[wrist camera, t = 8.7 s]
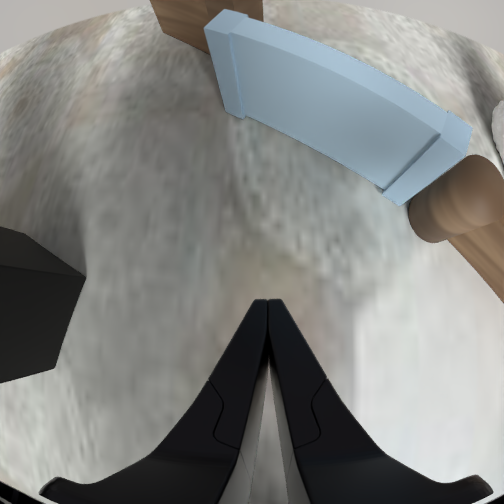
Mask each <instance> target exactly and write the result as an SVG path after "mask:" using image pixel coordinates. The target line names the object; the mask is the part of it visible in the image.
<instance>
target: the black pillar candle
mask: <svg viewBox="0 0 504 504" xmlns="http://www.w3.org/2000/svg"><path fill="white" fill-rule="evenodd" d="M85 280H86V277H85V276H84V275H82V274H81V273H79V272H78V271H76V270H75V269H73V268H72V267H70V266H69V265H68V264H66V263H65V262H63V261H62V260H60V259H59V258H57V257H56V256H55V255H53V254H52V253H50V252H49V251H48V250H46V249H45V248H43V247H42V246H41V245H39V244H38V243H37V242H35V241H34V240H33V239H31V238H30V237H29V236H27V235H26V234H24V233H21V232H17V231H14V230H10V229H7V228H4V227H0V383H4V382H8V381H11V380H15V379H19V378H23V377H26V376H30V375H33V374H37V373H41V372H44V371H48V370H51V369H54V368H55V366H56V363H57V359H58V356H59V353H60V349H61V346H62V343H63V340H64V337H65V334H66V331H67V328H68V325H69V322H70V319H71V317H72V314H73V311H74V308H75V306H76V303H77V300H78V298H79V295H80V292H81V290H82V287H83V285H84V282H85Z"/></svg>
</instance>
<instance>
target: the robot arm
mask: <svg viewBox="0 0 504 504" xmlns="http://www.w3.org/2000/svg"><path fill="white" fill-rule="evenodd" d="M268 367H270V375H271V382H272V389H273V396H274V403H275V410H276V417H277V424H278V431H279V437H280V444H281V451H282V458H283V465H284V472H285V479H286V486H287V493H288V500H289V504H472V503H475V502H477V501H479V500H481V499H483V498H485V497H487V496H489V495H491V494H493V490H492V488H491V487H490V485H489V484H488V483H487V482H485V481H484V480H483V479H482V478H481V477H479V476H478V475H472V476H469V477H466V478H463V479H461V480H458V481H455V482H452V483H440V482H436V481H434V480H431V479H429V478H427V477H425V476H424V475H422V474H420V473H418V472H416V471H415V470H413V469H411V468H409V467H407V466H406V465H404V464H402V463H400V462H399V461H397V460H395V459H394V458H392V457H390V456H389V455H387V454H386V453H385V452H384V451H382V450H381V449H380V448H379V447H378V446H377V444H376V443H375V442H374V441H373V440H372V438H371V437H370V436H369V435H368V434H367V432H366V431H365V430H364V429H363V427H362V426H361V425H360V424H359V422H358V421H357V420H356V419H355V417H354V416H353V415H352V414H351V412H350V411H349V410H348V408H347V407H346V406H345V404H344V403H343V402H342V400H341V399H340V397H339V395H338V394H337V392H336V391H335V389H334V387H333V386H332V384H331V382H330V381H329V379H328V378H327V376H326V374H325V372H324V371H323V369H322V367H321V366H320V364H319V362H318V360H317V359H316V357H315V355H314V354H313V352H312V350H311V348H310V347H309V345H308V343H307V342H306V340H305V338H304V337H303V335H302V333H301V331H300V330H299V328H298V326H297V325H296V323H295V321H294V319H293V318H292V316H291V314H290V313H289V311H288V309H287V308H286V306H285V304H284V302H283V301H282V300H281V299H269V300H267V299H255V300H254V301H253V303H252V304H251V306H250V308H249V310H248V311H247V313H246V315H245V317H244V318H243V320H242V322H241V324H240V325H239V327H238V329H237V331H236V332H235V334H234V336H233V337H232V339H231V341H230V343H229V344H228V346H227V348H226V349H225V351H224V353H223V355H222V356H221V358H220V360H219V361H218V363H217V365H216V366H215V368H214V370H213V372H212V373H211V375H210V377H209V378H208V380H209V381H206V383H205V385H204V386H203V388H202V390H201V391H200V393H199V394H198V396H197V398H196V399H195V401H194V402H193V404H192V405H191V406H190V407H189V409H188V410H187V411H186V413H185V414H184V415H183V417H182V418H181V419H180V420H179V421H178V423H177V424H176V425H175V426H174V428H173V429H172V430H171V431H170V432H169V434H168V435H167V436H166V437H165V438H164V440H163V441H162V442H161V443H160V444H159V445H158V447H157V448H156V449H155V450H154V451H152V452H151V453H150V454H149V455H147V456H146V457H145V458H143V459H141V460H139V461H138V462H136V463H134V464H132V465H130V466H128V467H126V468H125V469H123V470H121V471H119V472H117V473H115V474H113V475H111V476H109V477H107V478H105V479H103V480H101V481H98V482H96V483H92V484H79V483H76V482H73V481H70V480H67V479H65V478H61V477H55V478H53V479H52V480H50V481H49V482H48V483H46V484H45V485H44V486H43V487H42V488H41V490H40V491H39V495H41V496H43V497H45V498H47V499H49V500H51V501H53V502H56V503H58V504H249V498H250V492H251V485H252V484H251V483H252V479H253V473H254V466H255V460H256V453H257V447H258V440H259V433H260V427H261V420H262V413H263V405H264V398H265V391H266V383H267V376H268ZM0 504H46V503H43V502H41V501H39V500H37V499H35V498H33V497H31V496H29V495H27V494H25V493H23V492H21V491H19V490H17V489H15V488H14V487H12V486H10V485H8V484H6V483H4V482H2V481H0ZM485 504H504V494H503V495H501V496H499V497H497V498H495V499H493V500H491V501H489V502H487V503H485Z"/></svg>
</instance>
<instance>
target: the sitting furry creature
mask: <svg viewBox="0 0 504 504" xmlns="http://www.w3.org/2000/svg"><path fill="white" fill-rule="evenodd" d="M492 114H493V116H492V121H493V122H492V132H493V140H494V142H495V143H496V149H497V150H498V152H500V156H501V159H502V161H503V165H504V101H502V100H500V102H499V104H498V106H496V107H495V108H494V110H493V112H492Z"/></svg>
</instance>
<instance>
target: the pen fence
mask: <svg viewBox="0 0 504 504" xmlns="http://www.w3.org/2000/svg"><path fill="white" fill-rule="evenodd" d="M150 2H151V4H152V7H153V9H154V12H155V14H156V16H157V19H158V21H159V24H160V26H161V28H162V31H163V33H166V34H168V35H170V36H172V37H174V38H177V39H179V40H181V41H183V42H185V43H187V44H189V45H191V46H194V47H196V48H198V49H200V50H202V51H204V52H206V53H208V54H210V50H209V47H208V43H207V39H206V35H205V32H204V27H205V26H206V25H207V24H208V23H209V22H210V21H211V20H213V19H214V18H215V17H216V16H217V15H218V14H219V13H220V12H221V11H223V10H224V9H227V10H231V11H235V12H239V13H243V14H247V15H248V18H251V19H255V20H258V21H261V22H264V21H263V3H262V0H150ZM210 55H211V54H210ZM409 220H410V224H411V226H412V228H413V230H414V232H415V233H416V234H417V235H418V236H419V237H420V238H421V239H423V240H424V241H426V242H429V243H438V242H441V241H443V240H446V239H447V240H448V241H449V242H450V243H451V244H452V245H453V246H454V247H455V248H456V249H457V250H458V251H459V252H460V253H461V255H462V256H463V257H464V258H465V259H466V260H467V261H468V262H469V263H470V264H471V265H472V267H473V268H474V269H475V270H476V271H477V272H478V273H479V274H480V276H481V277H482V278H483V279H484V280H485V281H486V283H487V284H488V285H489V286H490V287H491V288H492V290H493V291H494V292H495V293H496V294H497V296H498V297H499V298H500V299H501V301H502V302H503V303H504V179H503V177H502V175H501V174H500V172H499V170H498V169H497V168H496V167H495V165H494V164H493V163H492V162H490V161H489V160H488V159H486V158H485V157H483V156H480V155H469V156H467V157H466V158H464V159H463V160H462V161H460V162H459V163H458V164H456V165H455V166H454V167H453V168H451V169H450V170H449V171H447V172H446V173H445V174H443V175H442V176H441V177H439V178H438V179H437V180H436V181H434V182H433V183H432V184H430V185H429V186H428V187H426V188H425V189H423V190H422V191H421V192H419V193H418V194H417V195H416V196H414V198H413V199H412V201H411V203H410V206H409Z"/></svg>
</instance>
